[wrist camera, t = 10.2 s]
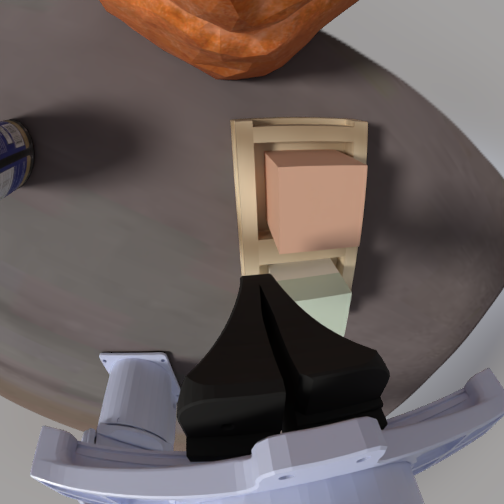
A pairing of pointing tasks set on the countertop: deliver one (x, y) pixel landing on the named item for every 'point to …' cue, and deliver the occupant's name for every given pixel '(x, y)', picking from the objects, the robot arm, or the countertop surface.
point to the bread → (229, 30)
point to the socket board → (253, 182)
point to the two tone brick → (316, 290)
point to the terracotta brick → (314, 199)
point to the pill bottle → (14, 156)
